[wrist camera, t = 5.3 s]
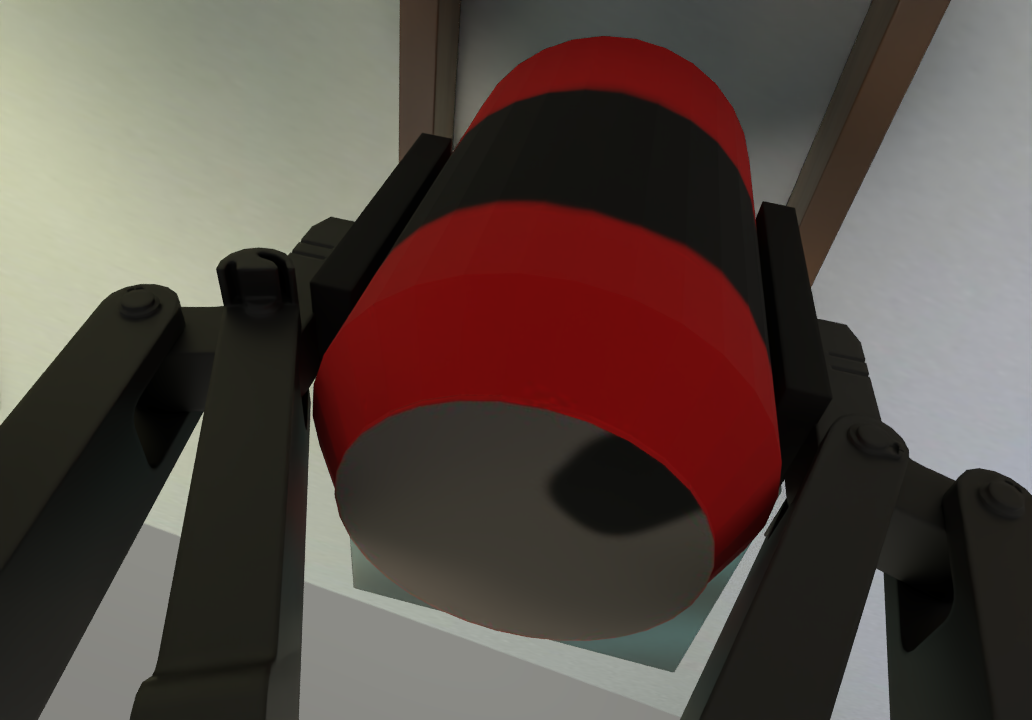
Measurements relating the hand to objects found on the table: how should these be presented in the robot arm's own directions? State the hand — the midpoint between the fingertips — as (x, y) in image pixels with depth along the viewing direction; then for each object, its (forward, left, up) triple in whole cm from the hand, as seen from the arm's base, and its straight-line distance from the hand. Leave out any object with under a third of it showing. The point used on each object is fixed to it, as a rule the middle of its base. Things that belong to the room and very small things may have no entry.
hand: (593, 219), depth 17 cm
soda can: (0, 0, -3) cm, 3 cm away
